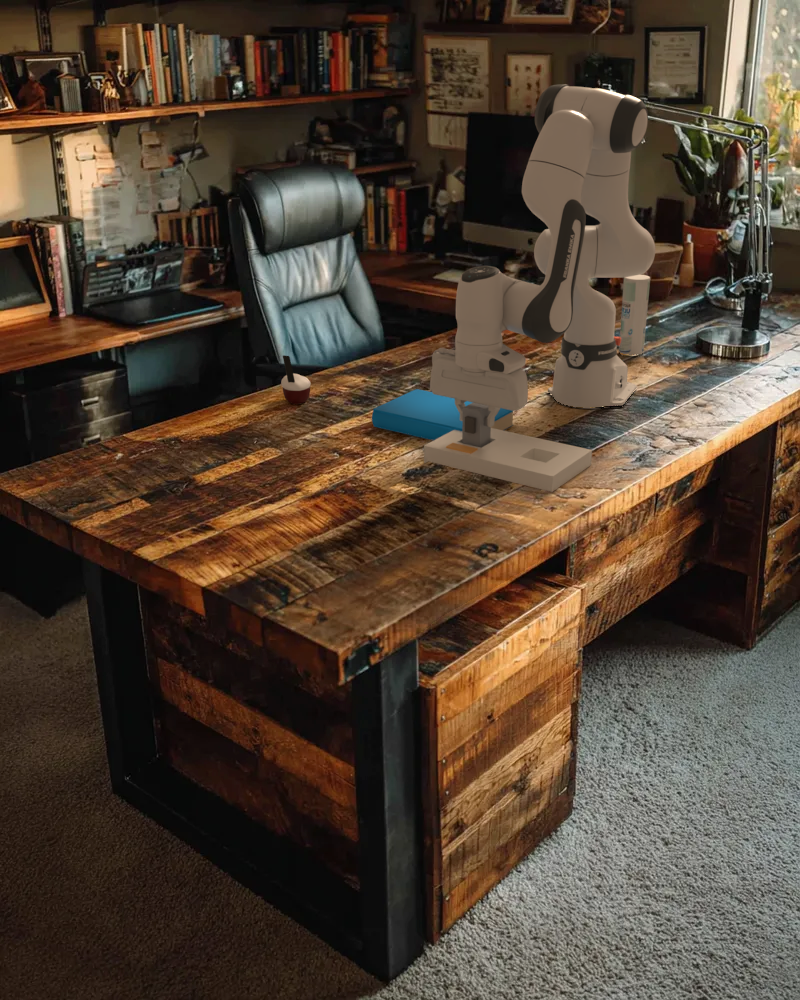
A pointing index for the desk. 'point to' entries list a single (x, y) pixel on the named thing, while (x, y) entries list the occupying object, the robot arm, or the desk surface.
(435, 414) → the book
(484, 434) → the plug
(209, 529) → the desk surface
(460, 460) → the socket board
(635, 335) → the spray can
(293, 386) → the cocoa
